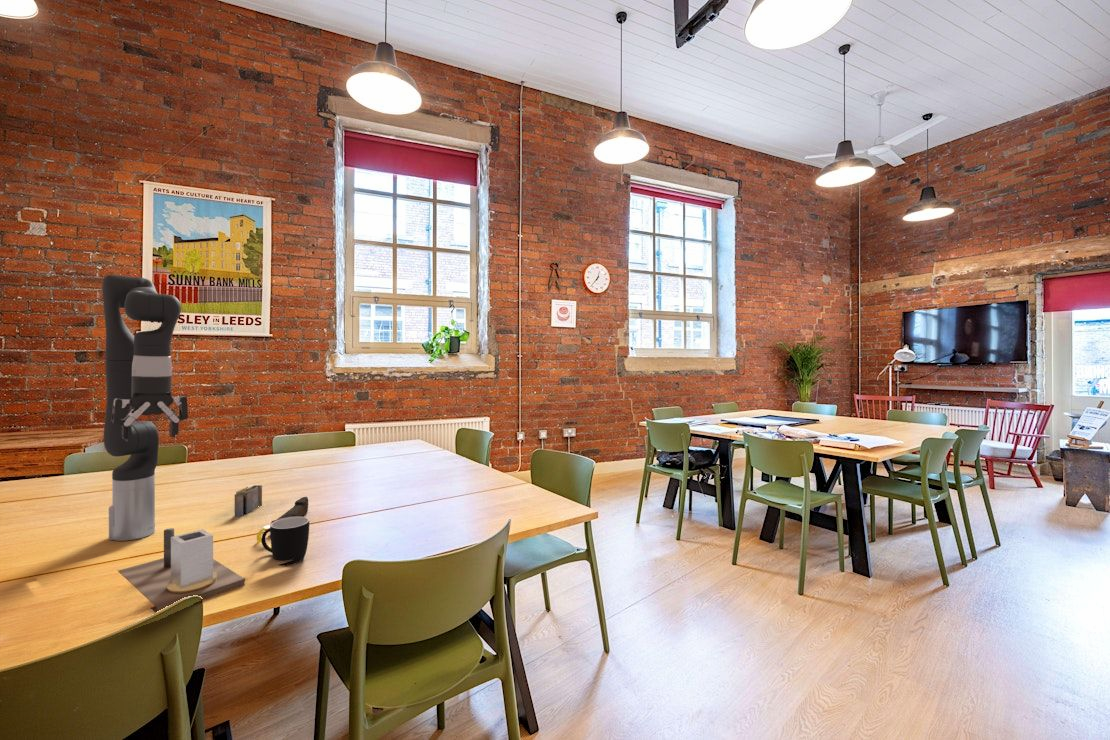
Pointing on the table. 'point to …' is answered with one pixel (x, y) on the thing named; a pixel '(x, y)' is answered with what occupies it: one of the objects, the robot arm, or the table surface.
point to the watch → (261, 532)
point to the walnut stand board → (158, 574)
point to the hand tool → (297, 509)
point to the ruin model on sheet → (248, 499)
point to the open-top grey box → (191, 558)
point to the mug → (288, 539)
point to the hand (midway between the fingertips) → (150, 438)
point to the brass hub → (176, 590)
